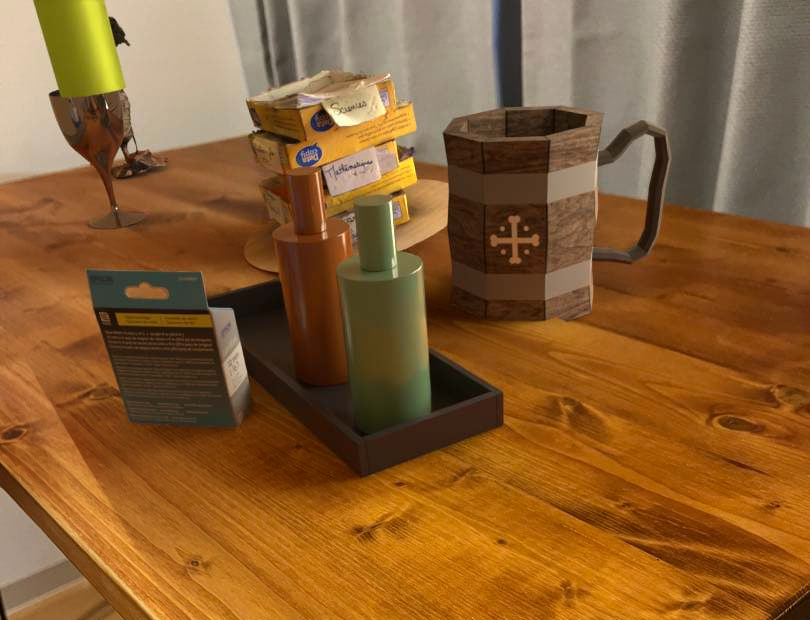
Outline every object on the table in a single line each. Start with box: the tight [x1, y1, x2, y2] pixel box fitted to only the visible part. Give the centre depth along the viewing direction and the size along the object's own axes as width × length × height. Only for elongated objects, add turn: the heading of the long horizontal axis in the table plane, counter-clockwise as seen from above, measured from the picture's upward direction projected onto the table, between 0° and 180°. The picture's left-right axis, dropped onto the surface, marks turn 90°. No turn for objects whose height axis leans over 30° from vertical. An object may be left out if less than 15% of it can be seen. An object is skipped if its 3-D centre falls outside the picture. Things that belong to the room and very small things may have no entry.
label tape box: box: [84, 267, 255, 429], centre depth 62 cm, size 9×4×12 cm, turn 77°
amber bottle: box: [272, 166, 353, 386], centre depth 65 cm, size 6×6×15 cm
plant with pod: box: [89, 15, 169, 178], centre depth 126 cm, size 8×11×20 cm
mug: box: [442, 104, 673, 323], centre depth 76 cm, size 20×14×15 cm
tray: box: [206, 277, 505, 479], centre depth 69 cm, size 11×31×3 cm, turn 31°
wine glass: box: [48, 89, 147, 230], centre depth 107 cm, size 8×8×15 cm
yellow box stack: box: [243, 68, 449, 273], centre depth 93 cm, size 25×25×17 cm
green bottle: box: [335, 195, 432, 435], centre depth 58 cm, size 6×6×15 cm
